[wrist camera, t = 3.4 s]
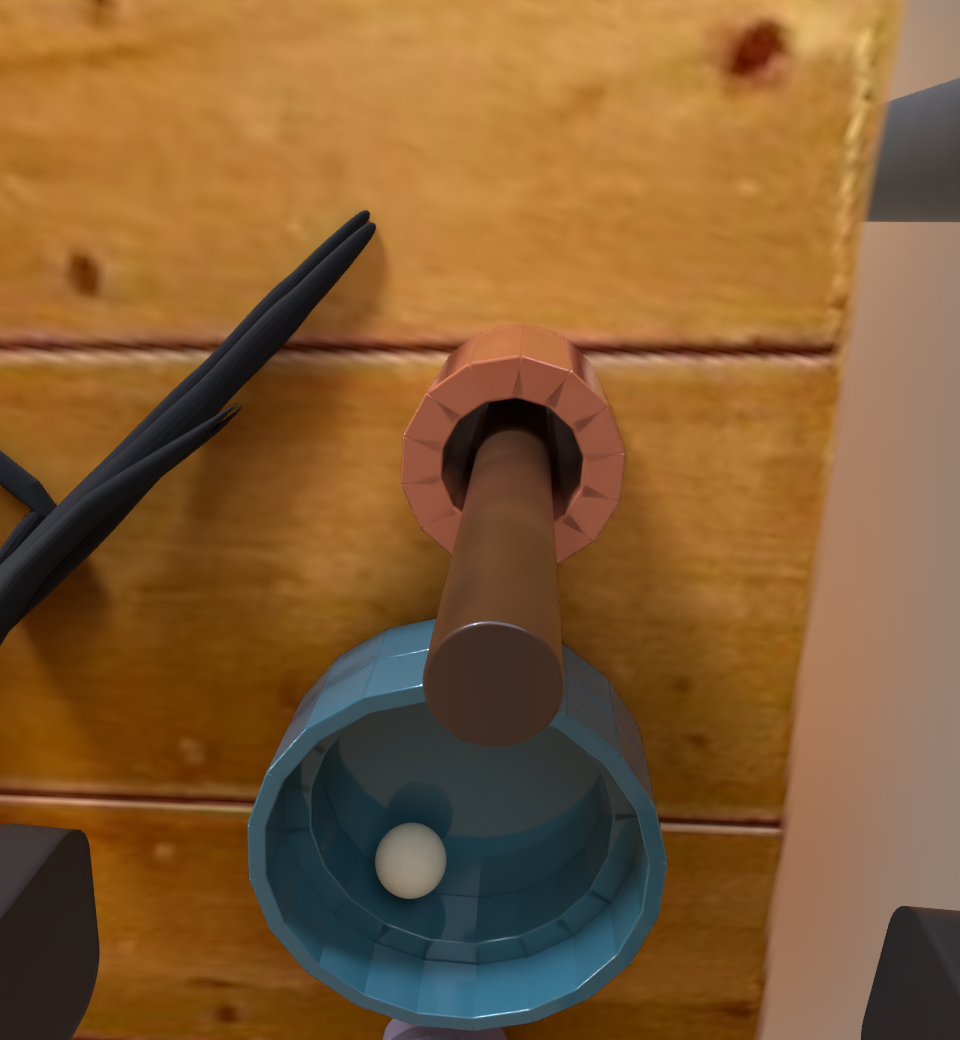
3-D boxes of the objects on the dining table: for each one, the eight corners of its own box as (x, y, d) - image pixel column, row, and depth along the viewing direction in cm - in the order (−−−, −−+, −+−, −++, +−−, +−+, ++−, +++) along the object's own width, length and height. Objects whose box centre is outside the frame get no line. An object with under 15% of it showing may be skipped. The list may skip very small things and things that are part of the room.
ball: (451, 810, 38) (444, 858, 35) (447, 867, 39) (441, 918, 36) (382, 804, 38) (370, 851, 35) (380, 861, 39) (368, 911, 36)
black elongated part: (182, 27, 23) (-344, 621, 28) (410, 269, 27) (-83, 750, 32) (205, 27, 30) (-221, 503, 35) (384, 220, 34) (-19, 622, 39)
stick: (549, 387, 32) (572, 628, 13) (544, 446, 33) (558, 755, 14) (488, 382, 32) (425, 616, 13) (485, 441, 33) (419, 742, 14)
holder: (612, 329, 32) (637, 363, 24) (593, 501, 34) (611, 582, 26) (435, 317, 32) (405, 346, 24) (427, 489, 34) (397, 565, 27)
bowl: (667, 627, 35) (693, 705, 30) (623, 931, 40) (638, 1048, 35) (288, 596, 36) (242, 667, 30) (290, 900, 41) (251, 1010, 35)
